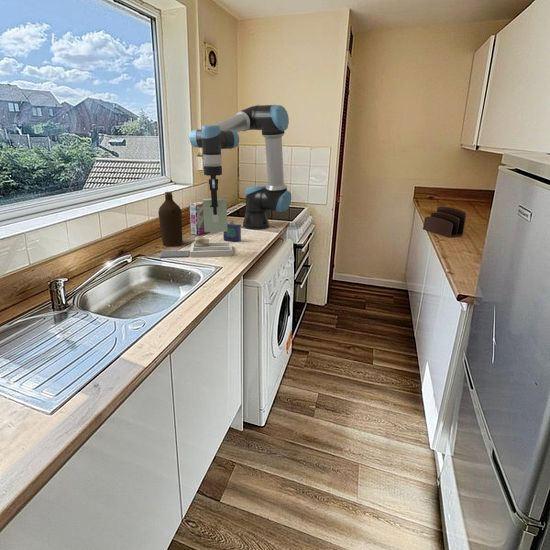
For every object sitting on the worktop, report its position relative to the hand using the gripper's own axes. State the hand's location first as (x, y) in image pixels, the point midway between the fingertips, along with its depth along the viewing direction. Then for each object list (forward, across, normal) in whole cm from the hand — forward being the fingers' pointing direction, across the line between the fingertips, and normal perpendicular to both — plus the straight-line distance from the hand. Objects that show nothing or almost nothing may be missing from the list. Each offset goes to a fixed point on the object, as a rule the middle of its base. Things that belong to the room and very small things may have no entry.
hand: (215, 220), depth 163 cm
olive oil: (+15, -17, -22) cm, 31 cm away
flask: (+16, -20, +8) cm, 27 cm away
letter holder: (+18, -28, +127) cm, 131 cm away
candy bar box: (+16, -37, -8) cm, 41 cm away
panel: (+5, 0, 0) cm, 5 cm away
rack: (+15, -2, -2) cm, 15 cm away
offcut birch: (+12, -5, -7) cm, 15 cm away
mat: (+15, +1, -18) cm, 24 cm away
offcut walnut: (+15, -6, -7) cm, 18 cm away
